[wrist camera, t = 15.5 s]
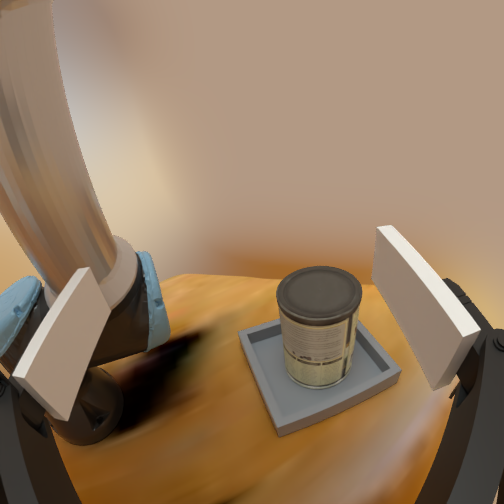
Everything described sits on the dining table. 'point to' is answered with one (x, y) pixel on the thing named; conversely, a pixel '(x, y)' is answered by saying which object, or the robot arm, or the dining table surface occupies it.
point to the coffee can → (318, 324)
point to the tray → (313, 400)
